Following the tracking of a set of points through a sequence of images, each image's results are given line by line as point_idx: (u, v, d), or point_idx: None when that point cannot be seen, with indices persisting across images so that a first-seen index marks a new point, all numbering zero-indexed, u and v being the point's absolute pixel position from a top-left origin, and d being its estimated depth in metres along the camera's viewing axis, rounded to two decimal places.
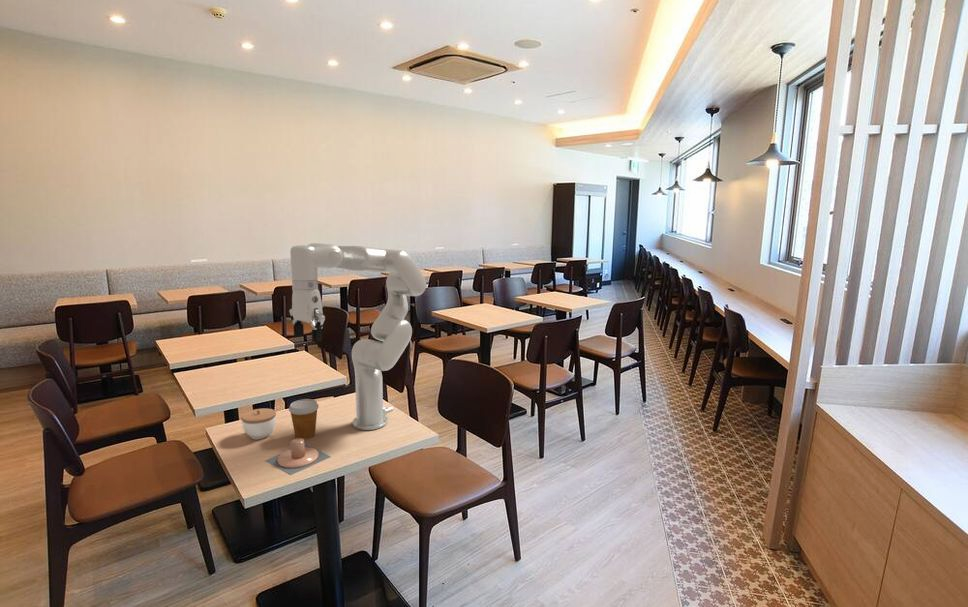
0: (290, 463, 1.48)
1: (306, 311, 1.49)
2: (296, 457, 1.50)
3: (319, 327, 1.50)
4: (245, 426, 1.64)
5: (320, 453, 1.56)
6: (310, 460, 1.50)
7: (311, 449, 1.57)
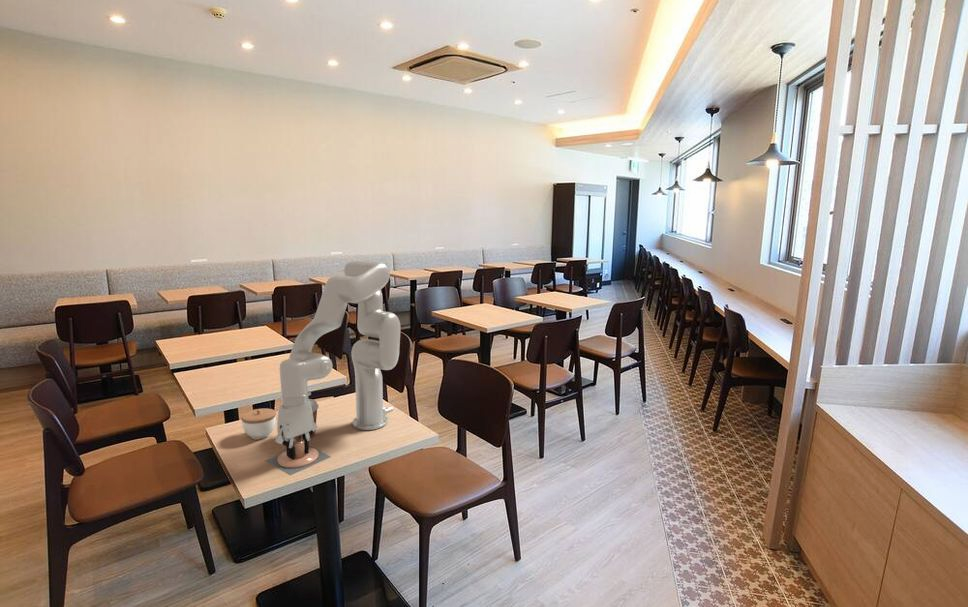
0: (290, 463, 1.48)
1: (310, 420, 1.51)
2: (296, 457, 1.50)
3: None
4: (245, 426, 1.64)
5: (320, 453, 1.56)
6: (310, 460, 1.50)
7: (311, 449, 1.57)
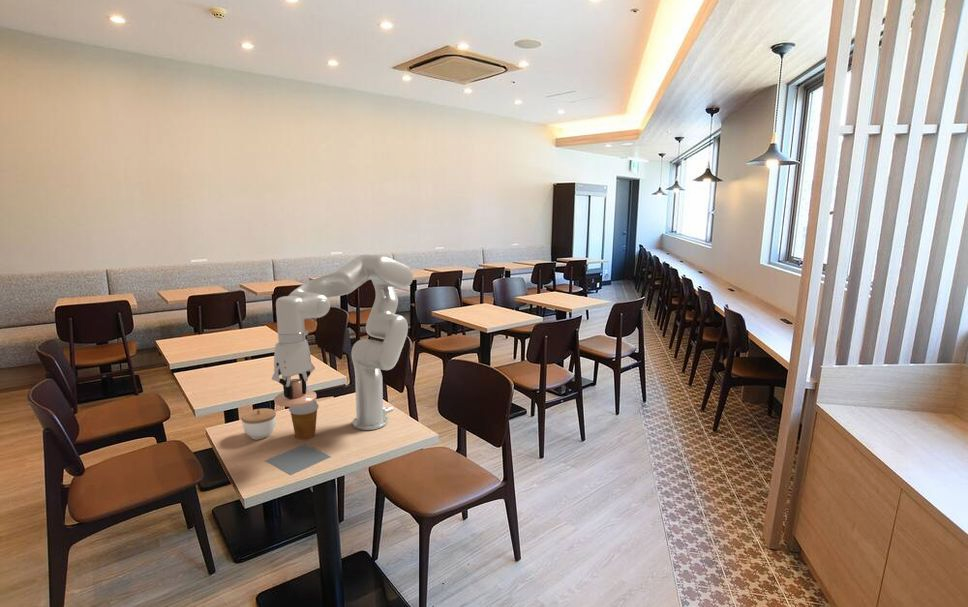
0: (287, 402, 1.45)
1: (307, 360, 1.49)
2: (293, 397, 1.47)
3: None
4: (245, 426, 1.64)
5: (320, 453, 1.56)
6: (308, 399, 1.47)
7: (309, 391, 1.54)
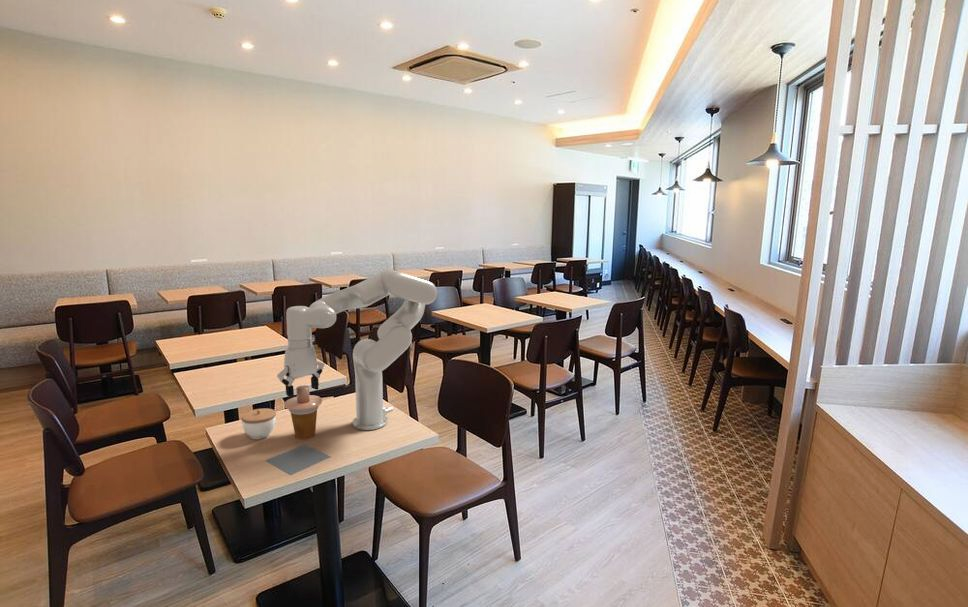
0: (296, 406, 1.62)
1: (314, 363, 1.66)
2: (301, 401, 1.64)
3: None
4: (245, 426, 1.64)
5: (320, 453, 1.56)
6: (314, 404, 1.64)
7: (315, 396, 1.71)
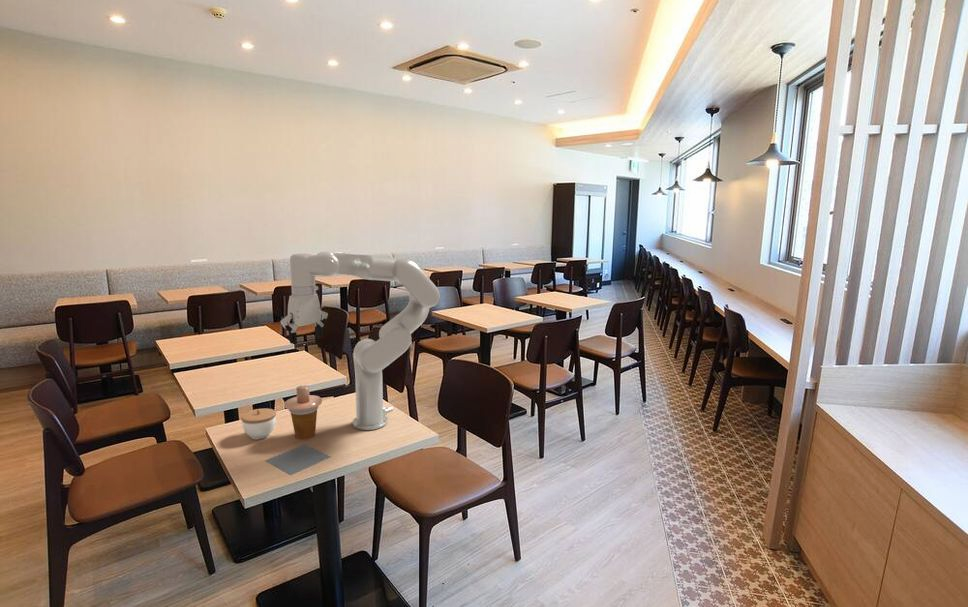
0: (296, 406, 1.62)
1: (317, 312, 1.65)
2: (301, 402, 1.64)
3: None
4: (245, 426, 1.64)
5: (320, 453, 1.56)
6: (314, 404, 1.64)
7: (315, 396, 1.71)
